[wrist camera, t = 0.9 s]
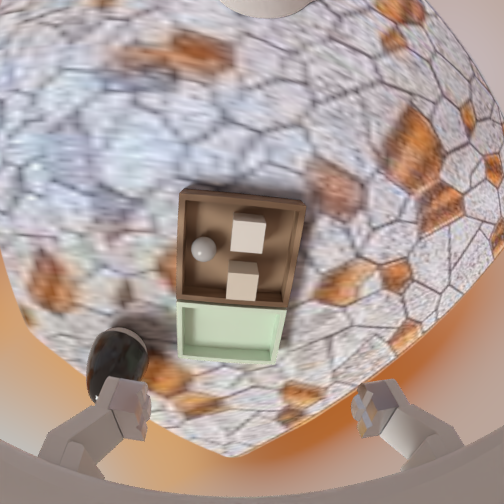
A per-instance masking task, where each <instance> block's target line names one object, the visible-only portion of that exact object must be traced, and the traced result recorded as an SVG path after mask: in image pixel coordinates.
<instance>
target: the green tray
mask: <svg viewBox="0 0 504 504" xmlns="http://www.w3.org/2000/svg"><path fill="white" fill-rule="evenodd" d="M176 308H177V348H178V358H183V359H192V360H203V361H214V362H228V363H245V364H271V365H275V362H276V357H277V353H278V349H279V344H280V340H281V335H282V331H283V326H284V321H285V317H286V312H287V309H286V307H270V306H255V305H241V304H228V303H216V302H204V301H194V300H183V299H177V302H176Z"/></svg>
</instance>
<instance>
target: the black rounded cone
mask: <svg viewBox="0 0 504 504" xmlns="http://www.w3.org/2000/svg"><path fill="white" fill-rule="evenodd" d="M148 364H149V357H148V354H147V349H146V346H145V344H144V342H143V340H142V339H141V338H140V337H139V336H138V335H137V334H136V333H134V332H133V331H131V330H129V329H126V328H121V327H115V328H111V329H108V330H106V331H105V332H102V333H100V334H99V335H98V336H97V337H96V339H95V341H94V343H93V345H92V348H91V350H90V354H89V357H88V362H87V370H86V381H87V390H88V393H89V396H90V398H91V399H92V401H93V402H94V403H95V404H96V401H97V399H98V396H99V394H100V392H101V389H102V387H103V385H104V383H105V380H106V379H107V378H108V377H109V376H111V377H116V378H122V379H128V380H133V381H139V382H141V380H142V379H143V377H144V375H145V373H146V371H147V368H148Z"/></svg>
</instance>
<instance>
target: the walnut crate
mask: <svg viewBox="0 0 504 504" xmlns="http://www.w3.org/2000/svg"><path fill="white" fill-rule="evenodd" d="M233 212H236V213H246V214H256V215H263V216H264V219H265V222H266V229H265V236H264V243H263V250H262V254H259V253H247V252H236V251H230V246H231V232H232V222H233ZM305 212H306V205H305V204H304V203H303V202H302V201H301V200H294V199H286V198H278V197H269V196H260V195H251V194H241V193H231V192H220V191H208V190H196V189H183V190H182V191H181V192H180V193H179V208H178V230H177V271H176V299H183V300H194V301H204V302H216V303H228V304H241V305H255V306H270V307H288V302H289V298H290V293H291V288H292V283H293V278H294V273H295V267H296V262H297V257H298V251H299V246H300V241H301V235H302V229H303V224H304V218H305ZM199 237H209V238H210V239H212V240H213V241H214V242H215V244H216V254H215V256H214V257H213V259H211V260H210V261H207V262H200V261H198V260H196V259H195V258H194V257H193V255H192V252H191V247H192V244H193V242H194V241H195V240H196V239H197V238H199ZM229 260H232V261H243V262H255V263H257V267H258V273H259V278H258V285H257V292H256V299H255V301H245V300H232V299H226V284H227V273H228V263H229Z"/></svg>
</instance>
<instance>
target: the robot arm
mask: <svg viewBox="0 0 504 504" xmlns="http://www.w3.org/2000/svg"><path fill="white" fill-rule="evenodd" d="M220 1H221V2H222V3H223V4H224V5H225V6H227V7H228V8H230V9H231V10H233V11H235V12H237V13H240V14H243V15H246V16H250V17H255V18H280V17H285V16H288V15H291V14H294V13H296V12H298V11H299V10H301V9H302V8H304V7H305V6H306V5H307V4H309V3H310V2H312V1H316V0H220ZM357 391H358V394H357V395H356V396H355V397H354V398H353V400H352V404H351V411H352V415H353V418H354V419H355V420H357V421H358V425H357V428H358V431H359V433H360V435H361V438H366V437H372V436H378V435H380V437H382V439H384V440H385V441H386V442H387V443H388V444H390V445H391V446H392V447H393V448H394V449H396V450H397V451H398V452H399V453H400V454H402V455H403V456H404V457H405V458H407V459H408V461H407V462H406V463H405V464H404V465H403V466H402V468H401V469H400V470H401V472H399V473H396V474H392V475H389V476H386V477H382V478H379V479H375V480H371V481H367V482H363V483H358V484H354V485H349V486H344V487H340V488H334V489H328V490H323V491H316V492H308V493H300V494H291V495H279V496H264V497H263V496H261V497H216V496H215V497H214V496H198V495H187V494H177V493H169V492H162V491H155V490H149V489H143V488H138V487H133V486H128V485H124V484H119V483H115V482H111V481H106V480H104V479H105V477H104V475H103V474H102V473H101V471H100V470H99V469H98V467H97V466H96V464H97V463H98V462H100V461H101V460H102V459H103V458H104V457H105V456H106V455H107V454H108V453H109V452H110V451H111V450H113V449H114V448H115V447H116V446H117V445H118V444H119V443H120V442H121V441H122V440H123V438H127V439H133V440H140V441H145V437H146V432H147V425H146V422H147V421H148V420H149V419H150V415H151V399H150V396H149V395H147V392H148V386H147V383H145V382H139V381H133V380H128V379H122V378H116V377H111V376H109V377H108V378H107V379H106V380H105V383H104V385H103V387H102V389H101V392H100V394H99V396H98V399H97V401H96V404H95V406H90V407H88V408H86V409H85V410H84V411H82V412H80V413H79V414H77V415H76V416H74V417H72V418H71V419H69V420H68V421H66V422H64V423H63V424H61V425H59V426H58V427H56V428H55V429H53V430H51V431H50V432H48V434H47V437H46V439H45V441H44V443H43V446H42V448H41V450H40V452H39V455H38V457H36V456H34V455H32V454H29V453H27V452H25V451H23V450H21V449H19V448H17V447H14V446H13V445H11V444H9V443H7V442H5V441H3V440H1V439H0V504H504V426H502V427H500V428H499V429H497V430H495V431H493V432H491V433H490V434H488V435H486V436H484V437H482V438H481V439H478V440H477V441H475V442H473V443H471V444H469V445H467V446H464V444H463V443H462V441H461V439H460V437H459V436H458V434H457V432H456V431H455V429H454V428H453V427H452V426H451V425H449V424H447V423H445V422H444V421H442V420H440V419H438V418H436V417H435V416H433V415H431V414H429V413H428V412H426V411H424V410H422V409H421V408H419V407H417V406H415V405H414V404H411V405H410V403H409V402H408V400H407V398H406V397H405V395H404V394H403V392H402V390H401V388H400V387H399V385H398V383H397V382H396V380H394V379H388V380H382V381H374V382H367V383H361V384H360V385H359V386H358V389H357Z"/></svg>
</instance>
